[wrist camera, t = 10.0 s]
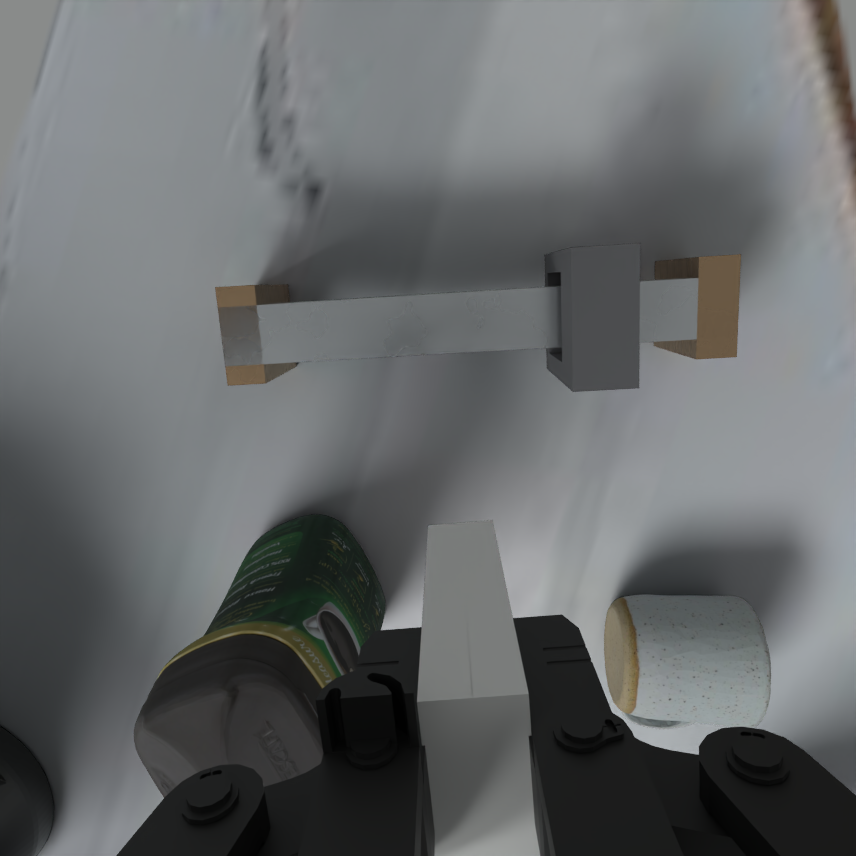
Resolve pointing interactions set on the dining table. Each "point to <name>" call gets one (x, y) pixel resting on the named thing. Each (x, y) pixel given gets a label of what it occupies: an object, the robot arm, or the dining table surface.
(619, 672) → the ceramic mug
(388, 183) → the dining table surface
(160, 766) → the coffee jar
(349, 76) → the dining table surface
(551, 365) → the grey notched bracket
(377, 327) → the grey long bar
